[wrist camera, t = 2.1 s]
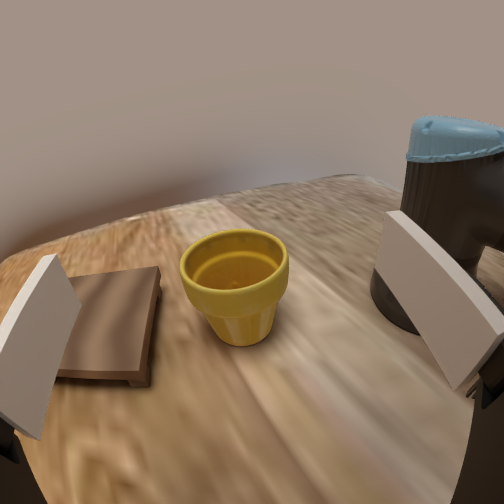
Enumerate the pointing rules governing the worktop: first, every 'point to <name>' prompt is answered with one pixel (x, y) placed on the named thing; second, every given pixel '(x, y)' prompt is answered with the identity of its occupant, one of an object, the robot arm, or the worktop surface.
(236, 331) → the plant pot
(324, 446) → the worktop surface
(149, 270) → the walnut stand
